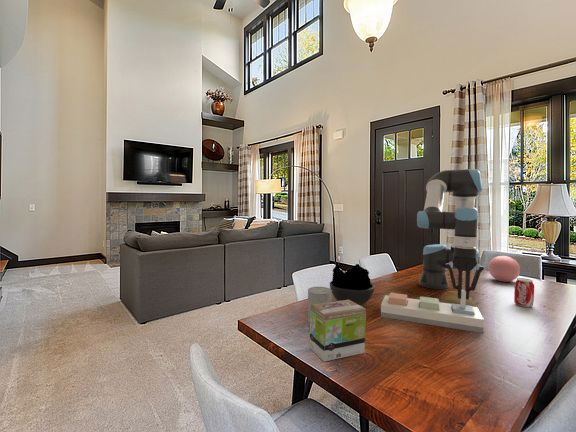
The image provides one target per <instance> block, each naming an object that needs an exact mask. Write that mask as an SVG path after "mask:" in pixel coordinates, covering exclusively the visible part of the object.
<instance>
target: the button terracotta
mask: <svg viewBox="0 0 576 432" xmlns="http://www.w3.org/2000/svg"><path fill="white" fill-rule="evenodd" d="M388 296H389V298H388V303H389V304H396V305H403V306H407V298H408V294H406V293H405V294H404V293H396V292H389V295H388Z"/></svg>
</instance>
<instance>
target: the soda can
mask: <svg viewBox="0 0 576 432" xmlns="http://www.w3.org/2000/svg"><path fill="white" fill-rule="evenodd" d="M514 283H515V284H514V292H513V293H514V295H513V296H514V297H513V300H514V304H516V305H517V306H518V307H522V308H531V307H533V306H534V301H535V283H534V280H532V279H529V278H523V277H522V278H521V277H517V278H516V281H514Z"/></svg>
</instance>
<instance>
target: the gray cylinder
mask: <svg viewBox="0 0 576 432" xmlns="http://www.w3.org/2000/svg"><path fill="white" fill-rule="evenodd" d="M327 302H332V290H331V289H330V287H325V286H312V287H309V288H308V289H307V322H308V323H310V315H311V305H312V304H320V303H327Z"/></svg>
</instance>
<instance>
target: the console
mask: <svg viewBox="0 0 576 432" xmlns="http://www.w3.org/2000/svg"><path fill="white" fill-rule="evenodd" d="M388 298H389V295H386V294H385V295H384V297H383V299H382V301H381V304H380V318H384V319H385V318H386V319H392V320H399V321H405V322H412V323H419V324H423V325H430V326H436V327H443V328H448V329H449V328H450V329H454V330H455V329H456V330H463V331H466V332H467V331H469V332H475V333H481V334H484V325H485V324H484V322H485V318H484V316H483V315H482V313H481V311H480V310H479V307H473V310H474V315H467V314H460V313H453V312H452V304H449V303H441V302H440V301H439V310H432V309H424V308H420V299H418V298H417V299H416V298H409V297H407V306H403V305H396V304H389V303H388Z"/></svg>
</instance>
